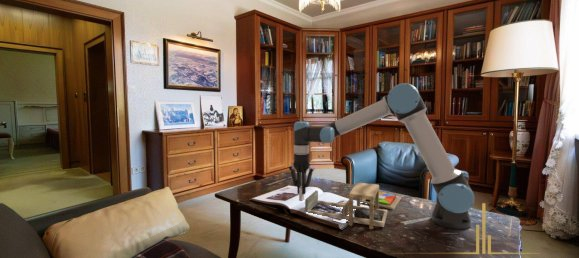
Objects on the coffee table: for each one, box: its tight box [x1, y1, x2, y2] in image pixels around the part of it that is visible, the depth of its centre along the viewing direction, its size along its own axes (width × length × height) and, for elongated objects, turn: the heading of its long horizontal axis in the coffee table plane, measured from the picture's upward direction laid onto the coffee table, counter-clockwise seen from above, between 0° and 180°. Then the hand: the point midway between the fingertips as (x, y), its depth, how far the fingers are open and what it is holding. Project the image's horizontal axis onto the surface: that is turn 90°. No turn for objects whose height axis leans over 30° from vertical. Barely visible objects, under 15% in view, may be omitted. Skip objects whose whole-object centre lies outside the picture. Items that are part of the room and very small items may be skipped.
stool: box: [348, 182, 380, 230], centre depth 126 cm, size 10×18×14 cm, turn 155°
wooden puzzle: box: [360, 191, 403, 211], centre depth 149 cm, size 18×19×4 cm
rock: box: [353, 208, 382, 221], centre depth 125 cm, size 9×11×6 cm
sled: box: [304, 190, 388, 228], centre depth 130 cm, size 35×15×7 cm, turn 65°
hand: (301, 200), depth 139 cm, fingers closed
